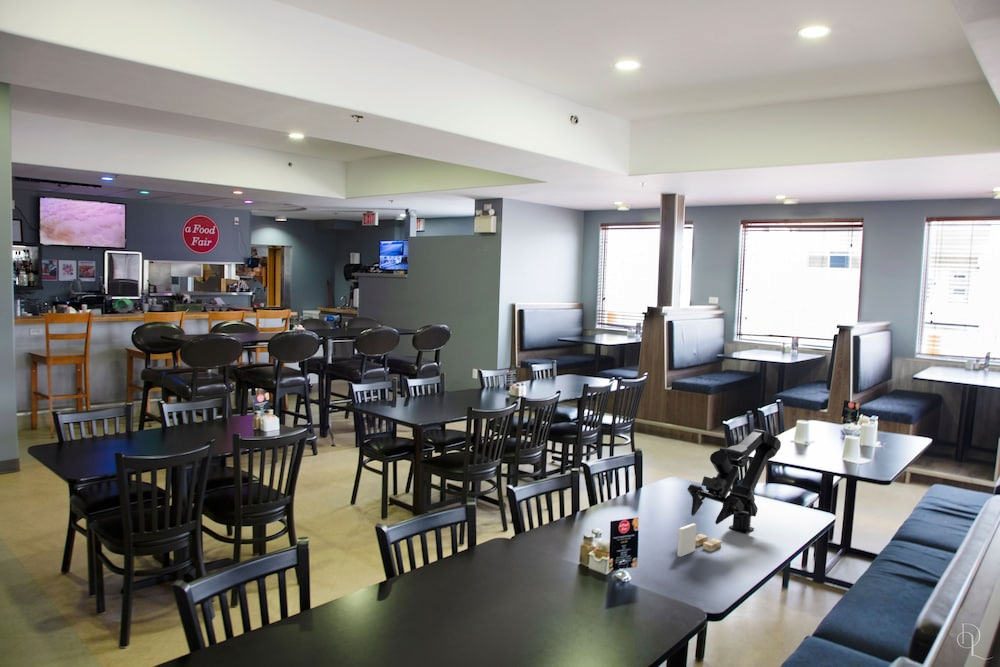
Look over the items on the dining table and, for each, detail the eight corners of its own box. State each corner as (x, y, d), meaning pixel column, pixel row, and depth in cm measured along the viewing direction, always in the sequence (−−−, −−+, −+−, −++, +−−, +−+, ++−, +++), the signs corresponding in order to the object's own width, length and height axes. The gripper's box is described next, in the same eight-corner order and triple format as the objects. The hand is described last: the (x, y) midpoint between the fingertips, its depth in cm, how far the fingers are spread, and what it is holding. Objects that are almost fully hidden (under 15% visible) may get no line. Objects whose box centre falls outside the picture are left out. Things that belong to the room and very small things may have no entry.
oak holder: (699, 539, 235) (700, 533, 234) (721, 547, 228) (721, 541, 228) (689, 543, 231) (689, 537, 231) (710, 551, 225) (711, 545, 224)
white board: (692, 549, 226) (693, 523, 225) (695, 550, 225) (696, 524, 224) (677, 555, 221) (678, 528, 220) (680, 556, 220) (681, 529, 219)
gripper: (691, 461, 237) (670, 498, 231) (740, 474, 222) (719, 514, 216) (703, 478, 242) (683, 516, 236) (752, 493, 228) (732, 532, 222)
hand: (703, 519), depth 228 cm, fingers open, 9 cm apart
